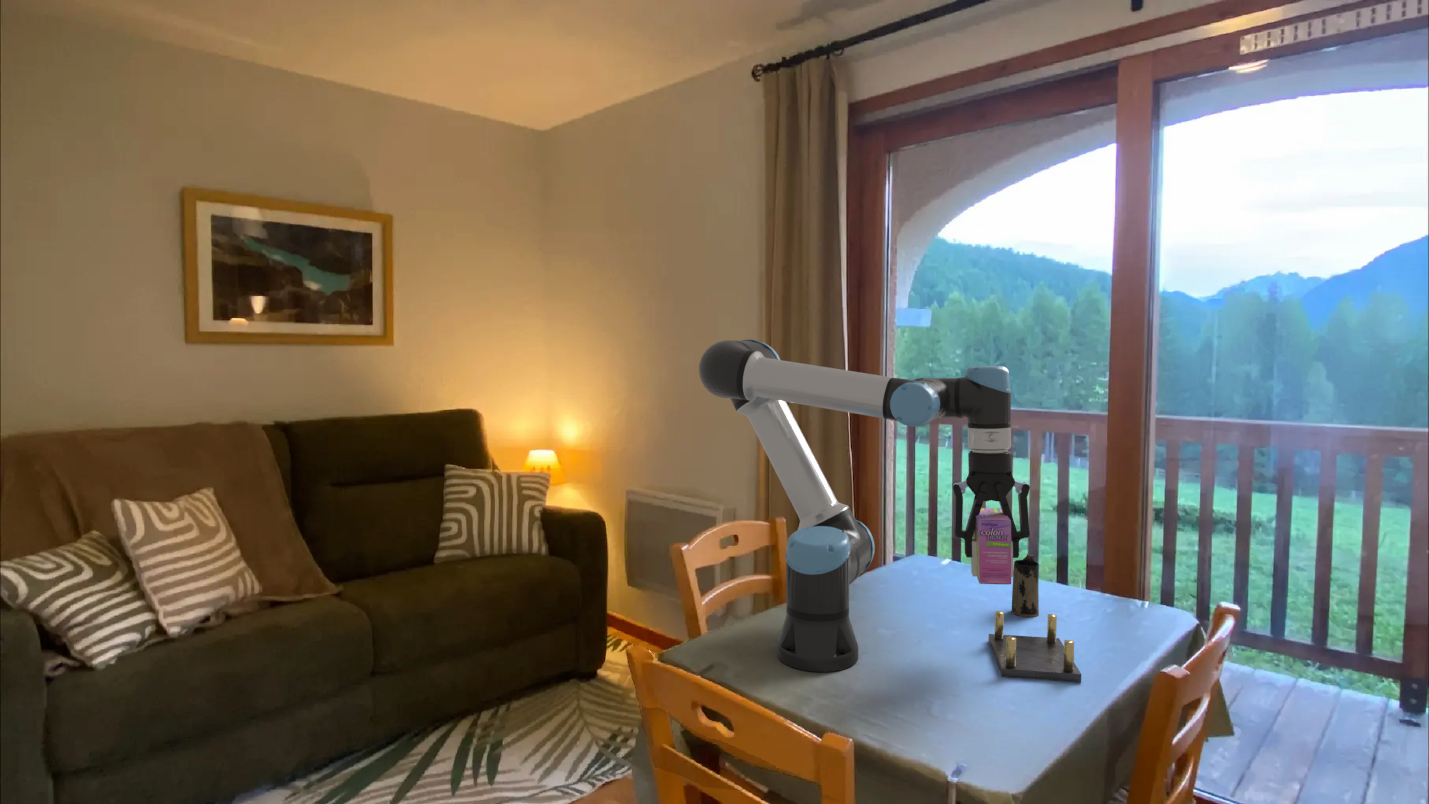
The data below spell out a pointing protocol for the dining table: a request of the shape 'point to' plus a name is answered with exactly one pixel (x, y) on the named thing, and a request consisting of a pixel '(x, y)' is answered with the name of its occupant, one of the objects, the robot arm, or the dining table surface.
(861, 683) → the dining table surface
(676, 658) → the dining table surface
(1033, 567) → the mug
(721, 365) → the robot arm
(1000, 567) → the box
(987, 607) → the dining table surface
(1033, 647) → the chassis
